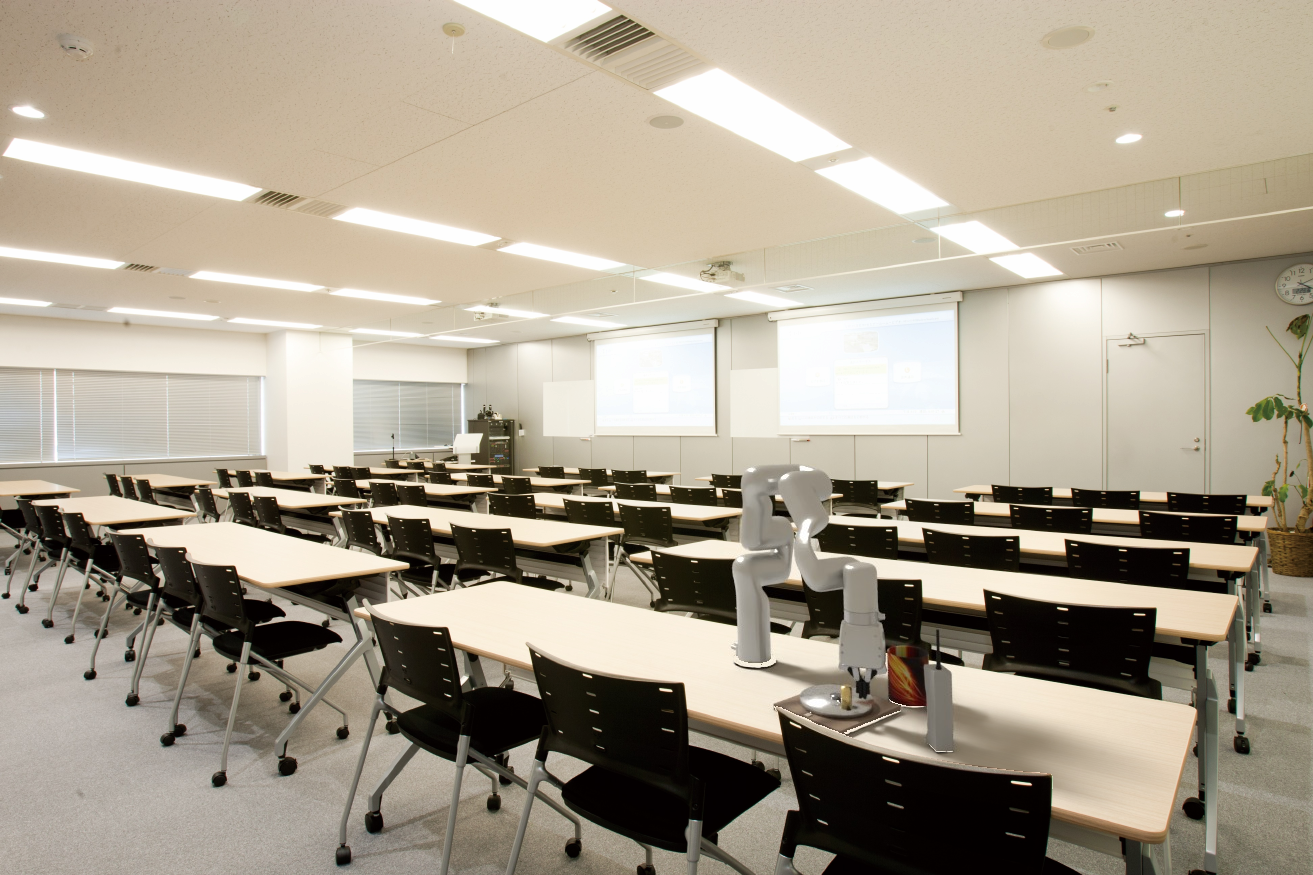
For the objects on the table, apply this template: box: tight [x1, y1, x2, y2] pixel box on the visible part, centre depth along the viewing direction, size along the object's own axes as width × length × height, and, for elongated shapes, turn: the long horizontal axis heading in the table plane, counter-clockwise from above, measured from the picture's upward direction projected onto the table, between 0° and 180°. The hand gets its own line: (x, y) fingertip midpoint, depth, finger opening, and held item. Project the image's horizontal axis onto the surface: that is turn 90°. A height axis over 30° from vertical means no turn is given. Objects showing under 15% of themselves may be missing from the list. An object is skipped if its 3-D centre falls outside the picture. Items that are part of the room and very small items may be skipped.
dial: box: [799, 683, 874, 718], centre depth 163 cm, size 17×17×6 cm
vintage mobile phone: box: [924, 628, 955, 752], centre depth 143 cm, size 4×5×25 cm
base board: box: [773, 682, 902, 736], centre depth 163 cm, size 20×22×2 cm
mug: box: [886, 645, 930, 707], centre depth 167 cm, size 10×14×12 cm
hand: (863, 696), depth 157 cm, fingers closed
